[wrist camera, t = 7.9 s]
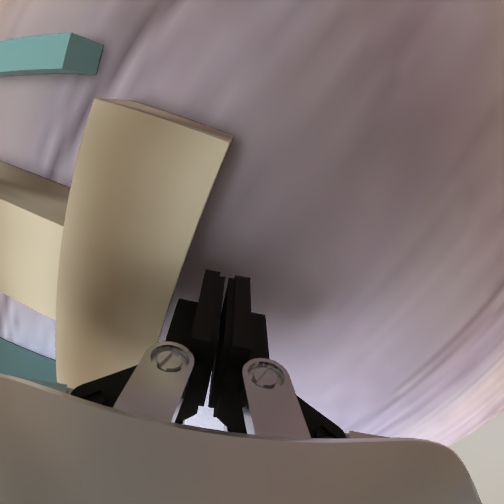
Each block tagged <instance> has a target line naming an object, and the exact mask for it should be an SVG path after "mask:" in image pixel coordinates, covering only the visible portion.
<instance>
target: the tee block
mask: <svg viewBox="0 0 504 504" xmlns="http://www.w3.org/2000/svg"><path fill="white" fill-rule="evenodd" d="M232 139H233V135H230V134H227V133H225V132H222V131H220V130H217V129H214V128H212V127H209V126H206V125H203V124H201V123H198V122H195V121H192V120H189V119H187V118H184V117H181V116H178V115H175V114H172V113H169V112H166V111H163V110H160V109H157V108H154V107H150V106H147V105H144V104H141V103H137V102H134V101H131V100H117V99H99V98H94V101H93V104H92V107H91V110H90V113H89V117H88V120H87V123H86V127H85V130H84V134H83V137H82V141H81V145H80V148H79V152H78V156H77V160H76V165H75V169H74V173H73V178H72V183H71V188H69V187H66V186H63V185H61V184H58V183H56V182H53V181H50V180H48V179H45V178H43V177H40V176H37V175H35V174H32V173H30V172H27V171H24V170H22V169H19V168H17V167H14V166H12V165H9V164H6V163H4V162H1V161H0V291H1V292H2V293H4V294H6V295H8V296H9V297H11V298H13V299H15V300H17V301H18V302H20V303H22V304H24V305H26V306H28V307H30V308H31V309H33V310H35V311H37V312H39V313H41V314H43V315H45V316H47V317H49V318H51V319H53V320H55V321H56V326H55V347H56V376H57V382H58V383H60V384H66V385H67V386H68V387H69V388H71V389H75V388H76V387H78V386H80V385H82V384H84V383H87V382H90V381H93V380H96V379H99V378H102V377H105V376H108V375H110V374H113V373H116V372H119V371H122V370H125V369H127V368H130V367H133V366H135V365H138V364H139V362H140V360H141V359H142V357H143V355H144V354H145V352H146V350H147V349H148V348H149V347H150V346H151V345H153V344H155V343H157V342H158V339H159V336H160V333H161V330H162V326H163V323H164V320H165V317H166V314H167V311H168V308H169V305H170V302H171V299H172V296H173V293H174V290H175V287H176V285H177V282H178V279H179V276H180V273H181V270H182V267H183V265H184V262H185V259H186V256H187V253H188V251H189V248H190V245H191V242H192V240H193V237H194V234H195V232H196V229H197V226H198V224H199V221H200V218H201V216H202V213H203V211H204V208H205V205H206V203H207V200H208V198H209V195H210V193H211V190H212V187H213V185H214V182H215V180H216V177H217V175H218V173H219V170H220V168H221V165H222V163H223V160H224V158H225V155H226V153H227V151H228V148H229V146H230V144H231V141H232Z"/></svg>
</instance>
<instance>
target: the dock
mask: <svg viewBox="0 0 504 504" xmlns="http://www.w3.org/2000/svg"><path fill="white" fill-rule="evenodd" d="M102 48H103V45H102V44H99V43H97V42H94V41H92V40H89V39H87V38H84V37H82V36H79V35H76V34H73V33H59V34H47V35H38V36H30V37H23V38H16V39H10V40H4V41H0V77H1V76H14V75H31V74H93V75H96V73H97V68H98V64H99V60H100V56H101V52H102ZM0 374H4V375H11V376H20V377H25V378H30V379H36V380H41V381H47V382H53V383H58V382H57V376H56V361H55V360H52V359H49V358H47V357H44V356H41V355H39V354H36V353H34V352H31V351H29V350H27V349H24V348H22V347H20V346H17V345H15V344H13V343H10V342H8V341H6V340H4V339H2V338H0ZM68 388H69V387H68Z"/></svg>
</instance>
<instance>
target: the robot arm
mask: <svg viewBox="0 0 504 504" xmlns="http://www.w3.org/2000/svg"><path fill="white" fill-rule="evenodd" d="M224 281H225V277H223V276H220V272H217V271H212V270H207V269H206V271H205V275H204V280H203V284H202V288H201V293H200V297H199V302H194V301H189V300H184V299H180V298H179V300H178V302H177V305H176V309H175V312H174V315H173V318H172V321H171V324H170V328H169V331H168V334H167V337H166V341H163V342H158V343H155V344H153V345H151V346H150V347H149V348H148V349H147V350H146V352H145V354H144V355H143V357H142V359H141V360H140V362H139V364H138V365H135V366H133V367H130V368H127V369H125V370H122V371H119V372H116V373H113V374H110V375H108V376H105V377H102V378H99V379H96V380H93V381H90V382H87V383H84V384H82V385H80V386H78V387H76V388H75V389H71V388H68V386H67V385H66V384H60V383H53V382H47V381H41V380H36V379H30V378H25V377H20V376H11V375H4V374H0V504H482V503H481V500H480V498H479V495H478V493H477V490H476V488H475V485H474V483H473V481H472V479H471V477H470V475H469V473H468V471H467V469H466V467H465V465H464V464H463V462H462V461H461V459H460V458H459V456H458V455H457V454H456V453H455V452H454V451H453V450H452V449H450V448H449V447H447V446H445V445H442V444H440V443H436V442H432V441H429V440H423V439H415V438H390V437H384V436H377V435H371V434H365V433H359V432H354V431H349V432H348V433H344V432H343V430H342V429H341V428H340V427H338V426H337V425H336V424H334V423H333V422H332V421H330V420H329V419H328V418H326V417H325V416H323V415H322V414H321V413H319V412H318V411H317V410H315V409H314V408H313V407H311V406H310V405H309V404H307V403H306V402H305V401H303V400H302V399H301V398H299V397H298V396H297V395H296V393H295V390H294V388H293V385H292V382H291V379H290V376H289V374H288V372H287V370H286V369H285V368H284V367H283V366H282V365H280V364H279V363H277V362H276V361H273V360H270V359H269V350H268V340H267V329H266V318H265V315H263V314H257V313H251V295H250V278H247V277H242V276H237V275H235V278H234V279H233V278H229V280H228V285H227V289H226V293H225V298H224V302H223V307H222V300H223V290H224ZM221 309H222V311H221ZM211 372H212V375H211ZM210 376H211V385H210V394H209V405H208V407H211V408H214V415H213V417H217V418H218V419H219V420H220V421H221V422H222V423H223V424H224V430H223V431H220V430H213V429H207V428H201V427H195V426H189V425H184V423H185V419H187V418H189V417H191V416H193V415H195V414H197V410H198V405H199V406H204V403H205V398H206V394H207V389H208V385H209V380H210Z"/></svg>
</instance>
